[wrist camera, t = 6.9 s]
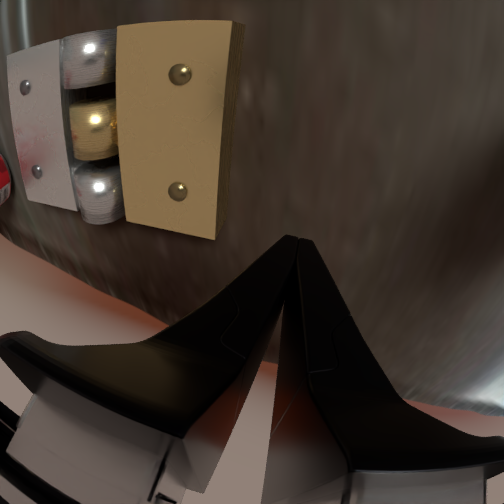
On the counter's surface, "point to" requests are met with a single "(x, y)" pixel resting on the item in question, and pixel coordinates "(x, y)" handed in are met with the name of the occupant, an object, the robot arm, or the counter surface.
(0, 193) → the soda can
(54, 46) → the steel leaf
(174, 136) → the brass leaf
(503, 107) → the counter surface
